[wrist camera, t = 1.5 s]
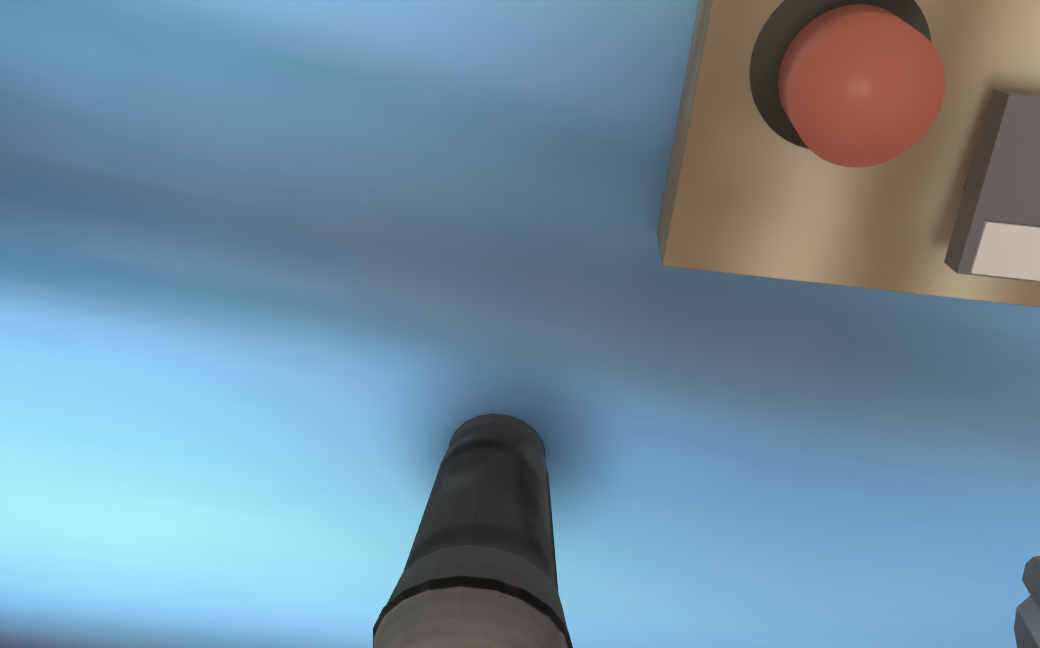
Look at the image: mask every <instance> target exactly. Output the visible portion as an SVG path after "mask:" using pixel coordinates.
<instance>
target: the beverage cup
mask: <svg viewBox="0 0 1040 648" xmlns="http://www.w3.org/2000/svg"><path fill="white" fill-rule="evenodd" d="M373 648H573V647H572V643H571V640H570V636H569V633H568V629H567V626H566V622H565V617H564V613H563V608H562V605H561V601H560V598H559V594H558V584H557V572H556V560H555V548H554V536H553V524H552V511H551V499H550V487H549V475H548V471H547V467H546V462H545V451H544V447H543V443H542V440H541V439H540V438H539V436H538V435H537V433H536V432H535V431H534V430H533V429H532V428H531V427H529V426H528V425H527V424H525V423H524V422H523V421H520V420H518V419H515V418H512V417H510V416H504V415H495V414H492V415H485V416H479V417H476V418H474V419H472V420H470V421H467V422H465V423H464V424H463V425H462V426H461V427H460V428H459V429H458V430H457V431H456V432H455V433H454V435H453V437H452V439H451V441H450V444H449V449H448V450H447V452H446V454H445V456H444V458H443V460H442V462H441V465H440V468H439V471H438V474H437V477H436V480H435V482H434V485H433V488H432V491H431V494H430V497H429V500H428V503H427V506H426V508H425V511H424V514H423V517H422V520H421V523H420V526H419V529H418V532H417V534H416V537H415V540H414V543H413V546H412V549H411V552H410V555H409V558H408V560H407V563H406V566H405V569H404V572H403V573H402V575H401V577H400V579H399V581H398V583H397V585H396V587H395V589H394V591H393V593H392V595H391V597H390V599H389V601H388V603H387V605H386V606H385V607H384V608H383V609H382V611H381V613H380V615H379V617H378V619H377V621H376V623H375V625H374V627H373Z"/></svg>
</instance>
